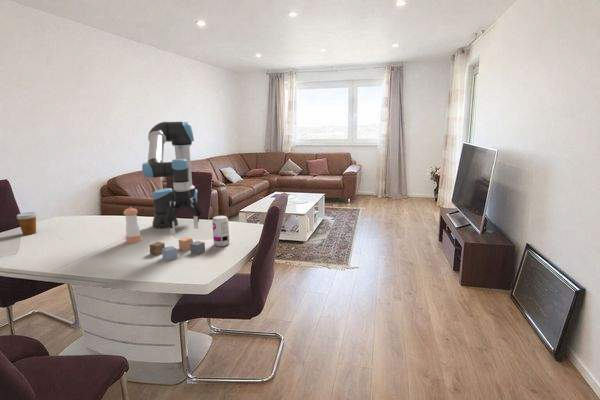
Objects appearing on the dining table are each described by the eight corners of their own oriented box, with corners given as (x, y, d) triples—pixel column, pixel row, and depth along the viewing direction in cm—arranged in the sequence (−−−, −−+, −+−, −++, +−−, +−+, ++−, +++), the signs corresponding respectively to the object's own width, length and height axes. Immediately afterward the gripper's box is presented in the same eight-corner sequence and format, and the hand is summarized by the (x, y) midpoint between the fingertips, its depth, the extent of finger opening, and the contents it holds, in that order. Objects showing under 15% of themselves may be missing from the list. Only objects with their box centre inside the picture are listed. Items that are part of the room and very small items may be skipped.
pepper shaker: (135, 243, 190) (131, 209, 186) (123, 242, 191) (119, 208, 187) (143, 239, 197) (140, 206, 193) (132, 238, 198) (128, 205, 194)
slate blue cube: (162, 258, 169) (161, 248, 168) (172, 255, 172) (172, 246, 171) (167, 261, 165) (166, 251, 164) (177, 258, 168) (176, 248, 167)
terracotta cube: (179, 248, 182) (178, 239, 181) (187, 246, 186) (186, 237, 185) (184, 250, 179) (184, 241, 178) (193, 248, 182) (192, 238, 181)
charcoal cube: (190, 253, 175) (189, 243, 174) (198, 250, 179) (197, 240, 178) (197, 255, 173) (196, 245, 172) (205, 252, 177) (204, 242, 176)
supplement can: (214, 247, 182) (212, 219, 179) (213, 242, 190) (212, 215, 187) (230, 246, 185) (228, 218, 182) (228, 241, 192) (227, 214, 189)
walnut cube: (150, 254, 174) (149, 244, 173) (158, 251, 179) (157, 241, 178) (157, 255, 172) (156, 246, 171) (165, 252, 176) (164, 243, 175)
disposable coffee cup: (43, 231, 213) (40, 212, 211) (30, 236, 204) (26, 216, 202) (29, 231, 214) (25, 211, 212) (15, 235, 205) (11, 215, 203)
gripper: (162, 194, 164) (166, 238, 168) (207, 187, 183) (209, 227, 187) (154, 193, 169) (158, 235, 173) (198, 186, 188) (200, 224, 192)
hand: (184, 231), depth 180 cm, fingers open, 13 cm apart
